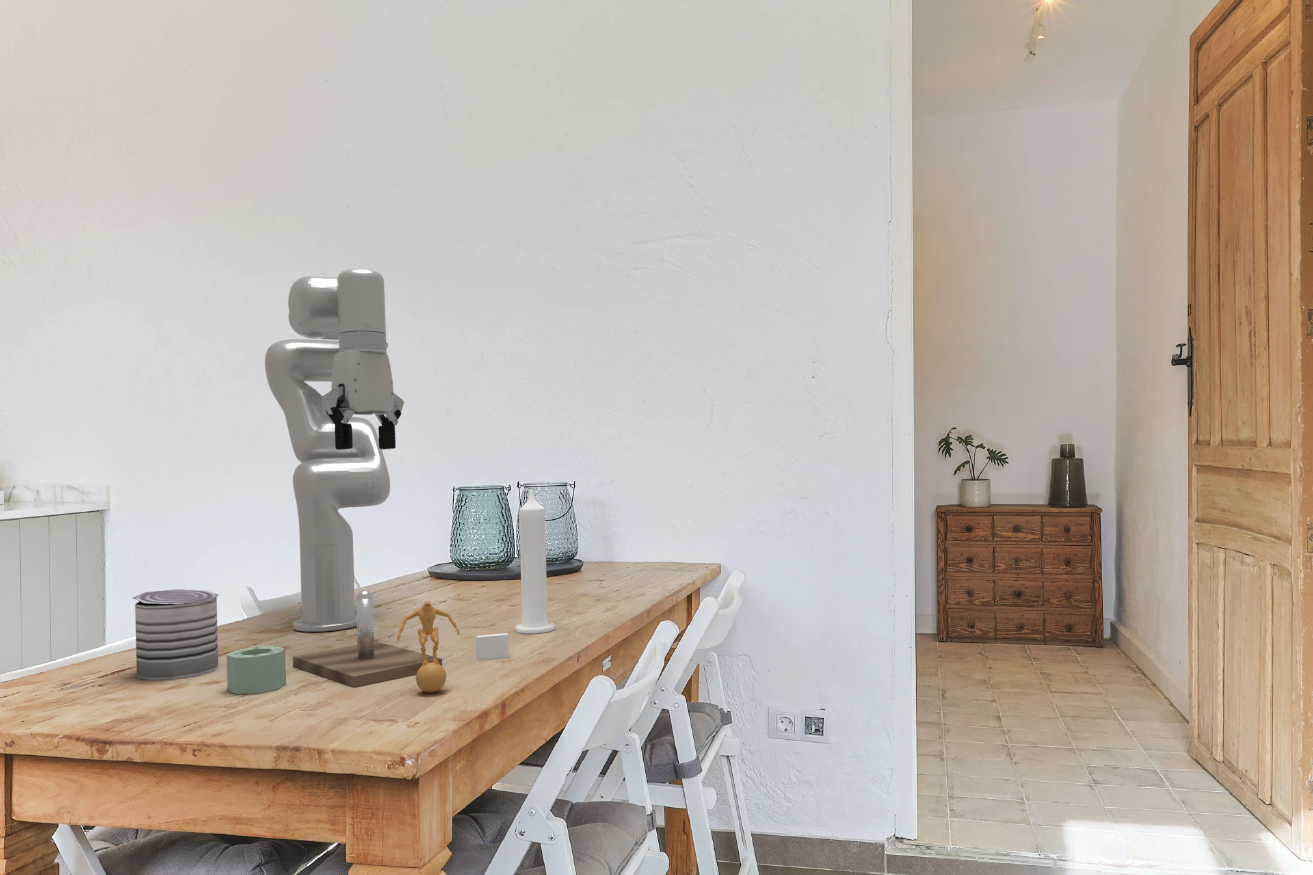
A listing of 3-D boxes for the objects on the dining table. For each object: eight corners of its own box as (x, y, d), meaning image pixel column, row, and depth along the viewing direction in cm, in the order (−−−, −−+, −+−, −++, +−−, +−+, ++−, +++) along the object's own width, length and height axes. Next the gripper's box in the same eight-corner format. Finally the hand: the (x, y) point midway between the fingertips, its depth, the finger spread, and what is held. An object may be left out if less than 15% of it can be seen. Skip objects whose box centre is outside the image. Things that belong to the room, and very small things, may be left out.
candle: (558, 625, 173) (554, 488, 173) (550, 633, 166) (546, 490, 166) (520, 626, 173) (516, 489, 174) (510, 634, 166) (506, 491, 167)
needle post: (355, 657, 144) (353, 590, 144) (369, 654, 145) (367, 588, 145) (362, 659, 142) (360, 591, 142) (377, 657, 144) (375, 589, 144)
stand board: (292, 666, 146) (292, 656, 146) (376, 650, 156) (376, 641, 156) (354, 687, 132) (353, 676, 132) (442, 668, 141) (442, 658, 141)
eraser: (476, 659, 147) (476, 635, 148) (507, 656, 149) (507, 632, 149) (477, 661, 146) (477, 637, 146) (509, 658, 148) (508, 634, 148)
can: (195, 660, 153) (193, 585, 153) (234, 668, 146) (232, 590, 146) (121, 675, 143) (119, 595, 143) (159, 684, 137) (157, 601, 137)
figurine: (401, 699, 124) (398, 607, 124) (396, 688, 130) (394, 601, 130) (465, 691, 127) (462, 602, 127) (457, 682, 133) (455, 596, 133)
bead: (222, 688, 133) (221, 652, 133) (271, 678, 138) (270, 644, 138) (241, 696, 128) (240, 659, 128) (292, 686, 133) (291, 650, 133)
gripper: (383, 352, 166) (386, 450, 166) (305, 343, 151) (308, 450, 150) (416, 348, 163) (419, 447, 162) (339, 338, 148) (343, 448, 147)
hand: (366, 449), depth 156 cm, fingers open, 9 cm apart
